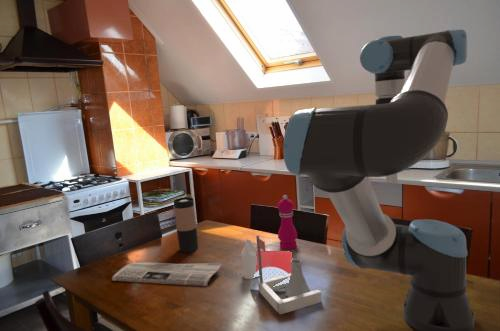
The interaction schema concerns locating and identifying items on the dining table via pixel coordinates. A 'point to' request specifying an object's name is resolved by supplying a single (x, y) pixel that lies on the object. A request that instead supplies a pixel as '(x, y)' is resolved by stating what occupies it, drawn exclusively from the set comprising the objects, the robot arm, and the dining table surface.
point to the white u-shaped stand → (272, 297)
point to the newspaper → (168, 273)
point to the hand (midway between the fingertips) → (391, 182)
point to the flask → (296, 280)
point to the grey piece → (249, 259)
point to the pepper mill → (286, 224)
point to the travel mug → (186, 224)
